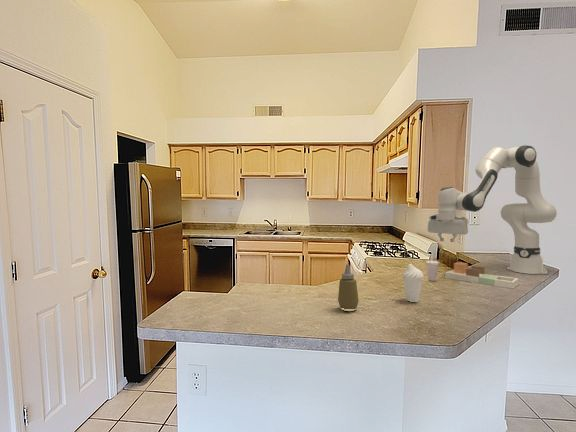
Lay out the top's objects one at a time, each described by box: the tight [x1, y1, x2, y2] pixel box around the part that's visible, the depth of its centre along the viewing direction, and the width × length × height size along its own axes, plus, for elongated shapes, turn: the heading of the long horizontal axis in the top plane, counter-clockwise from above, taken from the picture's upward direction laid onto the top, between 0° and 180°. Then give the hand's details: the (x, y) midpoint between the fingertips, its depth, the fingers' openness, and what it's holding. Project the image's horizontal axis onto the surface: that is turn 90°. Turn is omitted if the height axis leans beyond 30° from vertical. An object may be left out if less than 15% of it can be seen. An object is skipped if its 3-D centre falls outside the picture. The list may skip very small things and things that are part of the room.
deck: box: [444, 265, 520, 289], centre depth 161 cm, size 10×30×6 cm, turn 42°
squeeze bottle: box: [337, 264, 359, 309], centre depth 123 cm, size 8×8×18 cm
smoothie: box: [425, 253, 440, 282], centre depth 165 cm, size 6×6×14 cm
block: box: [453, 261, 468, 274], centre depth 168 cm, size 5×5×5 cm
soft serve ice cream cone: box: [401, 263, 424, 303], centre depth 131 cm, size 8×8×16 cm
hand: (447, 241), depth 172 cm, fingers open, 4 cm apart
